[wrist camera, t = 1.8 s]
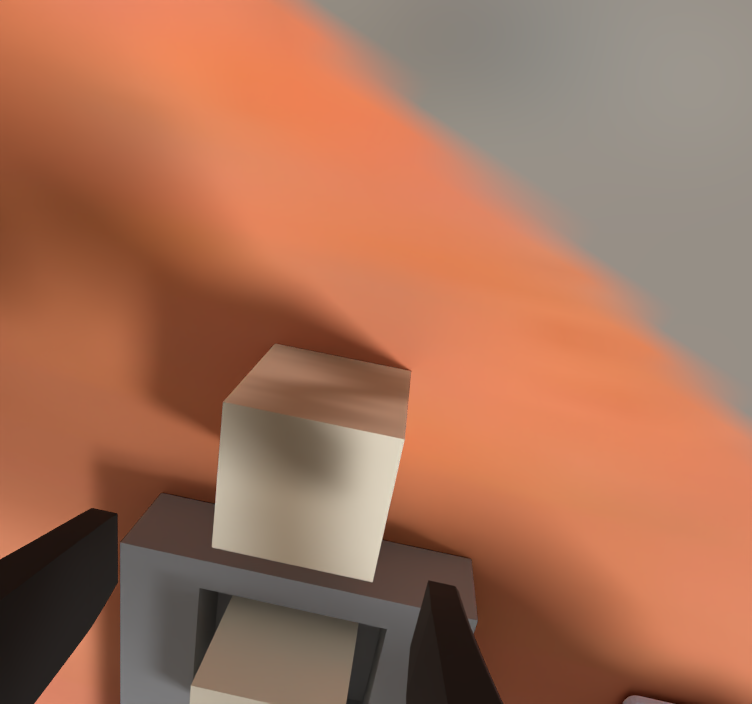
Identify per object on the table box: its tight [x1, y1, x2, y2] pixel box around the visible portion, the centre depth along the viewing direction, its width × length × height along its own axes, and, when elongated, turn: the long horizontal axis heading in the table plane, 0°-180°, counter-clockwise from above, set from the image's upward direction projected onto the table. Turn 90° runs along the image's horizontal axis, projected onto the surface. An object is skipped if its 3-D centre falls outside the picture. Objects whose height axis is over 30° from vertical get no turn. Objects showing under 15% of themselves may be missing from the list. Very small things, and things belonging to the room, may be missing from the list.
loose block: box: [212, 343, 411, 582], centre depth 17 cm, size 5×5×5 cm
